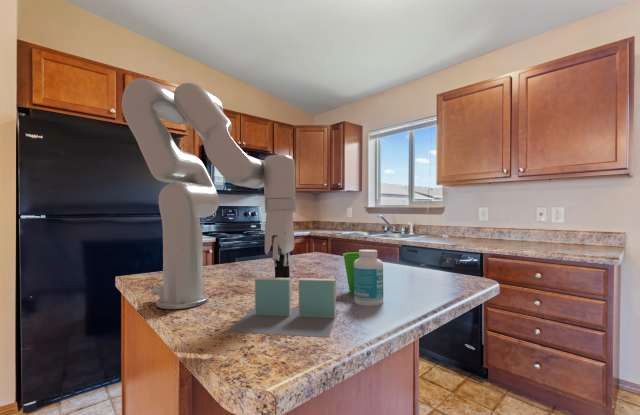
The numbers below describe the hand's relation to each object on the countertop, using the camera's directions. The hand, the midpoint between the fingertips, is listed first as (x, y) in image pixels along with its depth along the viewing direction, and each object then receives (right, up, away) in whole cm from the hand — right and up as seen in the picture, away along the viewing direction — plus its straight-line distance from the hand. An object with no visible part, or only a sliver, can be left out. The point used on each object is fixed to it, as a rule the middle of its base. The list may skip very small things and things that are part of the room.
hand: (282, 282), depth 75 cm
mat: (+2, -6, -10) cm, 12 cm away
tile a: (-1, -6, -6) cm, 8 cm away
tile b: (+9, -6, -8) cm, 13 cm away
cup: (+20, -7, +15) cm, 26 cm away
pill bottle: (+21, -7, +4) cm, 23 cm away
